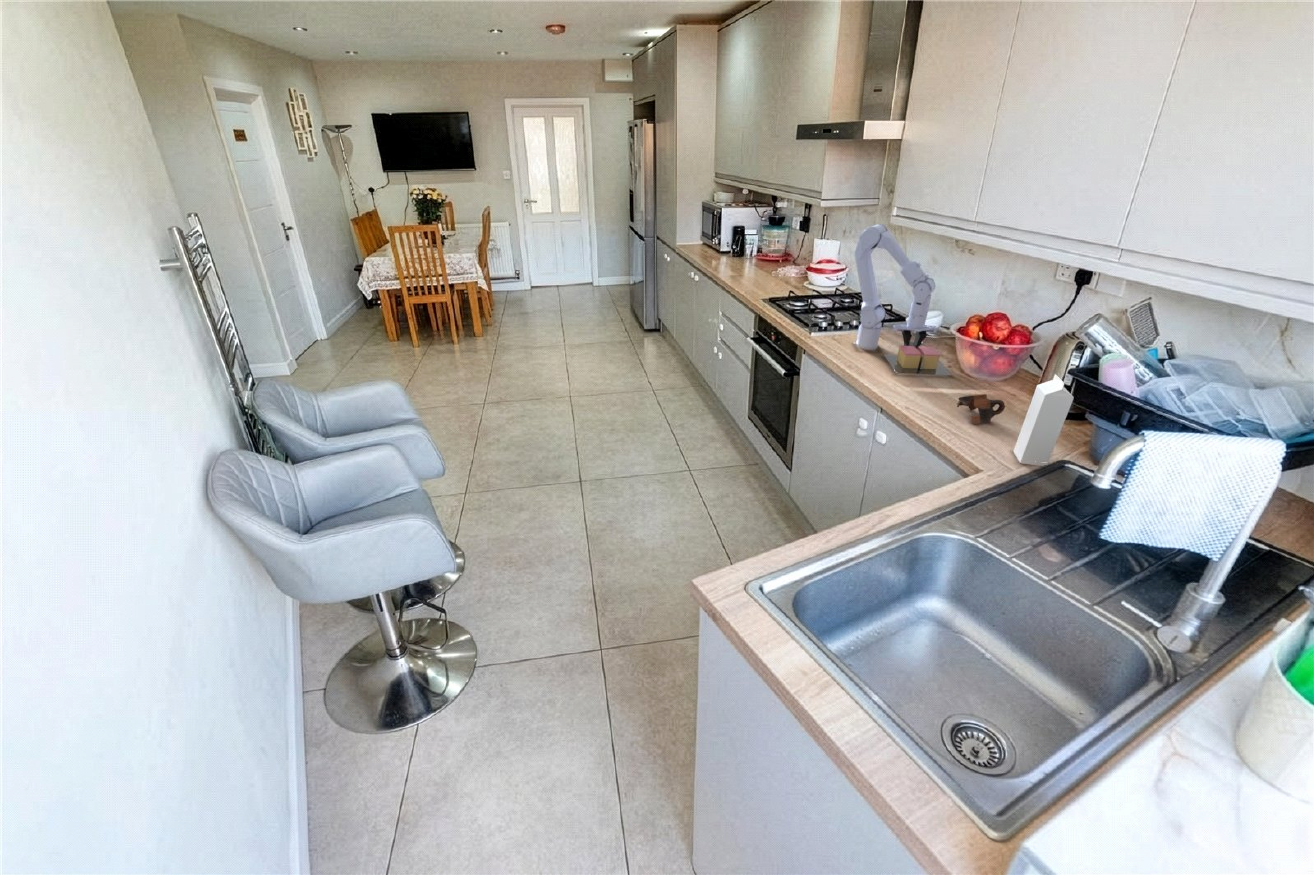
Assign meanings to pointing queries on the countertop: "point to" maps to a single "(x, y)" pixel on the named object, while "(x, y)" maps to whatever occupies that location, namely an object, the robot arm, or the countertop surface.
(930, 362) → the cake slice
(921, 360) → the knife
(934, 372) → the board
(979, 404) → the pottery mug
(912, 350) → the cake half
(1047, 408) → the milk
